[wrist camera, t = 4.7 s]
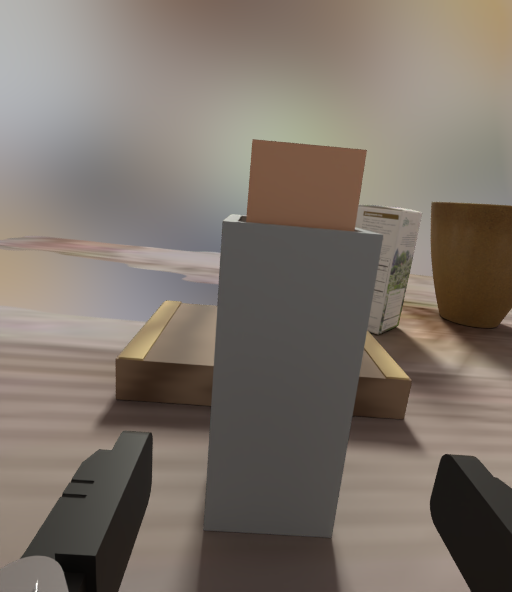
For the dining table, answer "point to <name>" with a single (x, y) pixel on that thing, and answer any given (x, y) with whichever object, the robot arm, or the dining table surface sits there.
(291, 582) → the dining table surface
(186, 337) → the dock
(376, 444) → the dining table surface
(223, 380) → the grey open box
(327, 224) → the block
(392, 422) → the dining table surface
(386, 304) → the syrup box
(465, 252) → the plant pot
